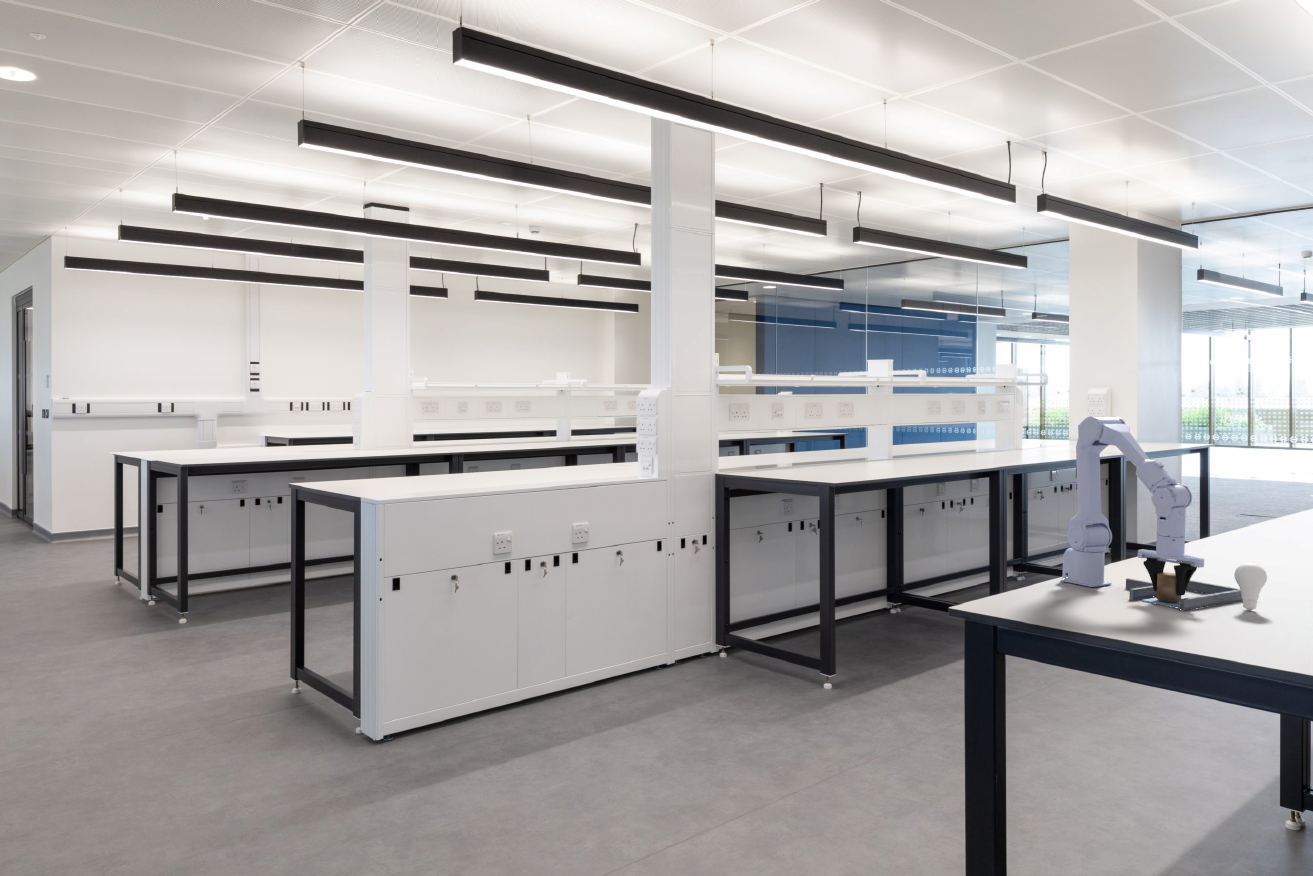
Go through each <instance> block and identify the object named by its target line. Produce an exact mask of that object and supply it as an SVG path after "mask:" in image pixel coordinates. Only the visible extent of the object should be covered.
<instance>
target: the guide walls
mask: <svg viewBox="0 0 1313 876" xmlns="http://www.w3.org/2000/svg"><path fill="white" fill-rule="evenodd" d="M1127 588H1128V589H1127ZM1125 589H1127V590H1129V593H1128V594H1129V597H1128V598H1129V600H1131V601H1137V599H1138V600H1144V599H1150V597H1151V598H1154V597H1153V596H1157V591H1154V589H1153V585H1152V581H1151V582H1150V581H1144V580H1139V579H1134V578H1130V577H1129V578H1125ZM1186 589H1187V590H1186V591H1188V590H1191V591H1190V592H1194V591H1197V592H1196V593H1199V592H1203V593H1202V594H1203V595H1197V596H1192V597H1185V598H1181V599H1180V607H1179V610H1180V609H1181V610H1180V611H1182V610H1186V611H1190V610H1189V609H1192V610H1196V608H1198V609H1202V607H1204V608H1208V607H1207V606H1209V607H1214V605H1215V606H1220V604H1221V605H1226V604H1230V603H1231V604H1232V603H1237V601H1238V602H1243V598H1242V595H1241V590H1240V588H1235V587H1230V586H1226V585H1219V584H1214V583H1213V584H1212V583H1208V582H1202V581H1198V580H1191V579H1190V581H1189V583H1188V585H1187V588H1186ZM1204 593H1208V594H1204ZM1143 598H1144V599H1143Z"/></svg>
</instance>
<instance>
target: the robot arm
mask: <svg viewBox="0 0 1313 876" xmlns="http://www.w3.org/2000/svg"><path fill="white" fill-rule="evenodd" d="M1077 429H1078V430H1077V434H1078V438H1077V442H1076V445H1075V446H1076V447H1075V454H1076V456H1075V457H1076V459H1075V460H1076V490H1077V491H1076V493H1077V495H1076V496H1077V513H1076V514H1075V515H1073V517H1072V518H1070V520H1069V527H1068V531H1067V533H1066V534H1067V535H1066V536H1067V542H1068V544H1069V546H1070V547H1068V548H1067V549H1066V550H1065V551H1064V552H1063V555H1062V579H1063V578H1065V579H1064V580H1061V579H1060V581H1061V582H1067V583H1070V584H1075V585H1079V586H1084V587H1091V588H1096V587H1102V586H1103V587H1104V586H1110V585H1112V582H1110V581H1105V556H1106V555H1105V553H1106V551H1107V550H1108V546H1110V545H1111V543H1112V542H1113V541H1112V540H1113V533H1112V530H1111V529H1110V524H1109V519H1108V518H1107V517H1106V516H1105V515H1104V514H1103V512H1102V494H1101V493H1102V490H1101V460H1100V458H1101V456H1100V454H1101V453H1102V452H1103V451H1104V450H1105V449H1106V448H1107V447H1109V446H1110V445H1111V446H1115V447H1116V448H1117V449H1118V450H1119V451H1120V452H1121V453H1122V454H1123V455H1124V456H1125V457H1126V458H1127V459H1128V461H1129V462H1130V463H1132V464H1133V465H1134V467H1136V471H1135V475H1136V476H1137V477H1138V479H1139V480H1140V481H1141V482H1142V484H1143V485H1144V486H1145V487H1146V489H1147V490H1148V491H1149V492H1150V493H1151V495H1152V496H1151V502H1152V505H1153V506H1154V507H1155V514H1156V543H1155V545H1156V546H1155V547H1156V548H1155V550H1152V549H1150V550H1149V549H1143V548H1142V549H1138V550H1137V558H1139V559H1145V560H1143V561H1142V562H1143V563H1142V564H1143V566H1144V567H1145V569H1146V571H1147V573H1148V575H1149V578H1150V581H1151V583H1152V585H1153V589H1154V591H1157V573H1160V572H1165V571H1164V569H1165V566H1166V563H1172V564H1177V565H1173V570H1174V573H1175V575H1176V594H1177V595H1179V596H1181V597H1182V596H1186V595H1185V594H1186V591H1187V590H1186V588H1187V585H1188V583H1189V581H1190V580H1191V578H1192V577H1193V575H1194V574H1195V573H1196V571H1197V569H1198V568H1204V567H1205V558H1202V557H1201V558H1200V557H1196V556H1191V555H1187V554H1185V543H1186V542H1185V541H1186V540H1185V539H1186V514H1187V513H1186V509H1187V508H1188V507H1189V506H1190V505H1191V503H1192V499H1193V496H1192V495H1193V494H1192V492H1191V490H1190V489H1189V486H1188V485H1185V484H1182V483H1179V482H1178V481H1177V480H1176V479H1175V478H1173V477H1172V476H1171V474H1170V473H1169V472H1168V471H1167V470H1166V469H1165V465H1164V464H1163V463H1162V462H1159V461H1158V460H1155V459H1152V460H1151V459H1150V458H1149V456H1148V455H1147V454H1146V452H1145V451H1144V449H1142V447H1141V446H1140V444H1139V443H1138V442H1137V440H1136V439H1135V437H1134V436H1133V435H1132V433H1131V432H1130V431H1131V426H1129V425H1128V424H1127V423H1126V422H1125V420H1124V418H1122V417H1119V416H1113V417H1112V416H1111V417H1110V416H1104V417H1101V416H1099V417H1098V416H1087V417H1085V418H1084V419H1083V420H1082V421H1081V422H1080V423H1079V424H1078V427H1077ZM1066 577H1068V578H1066Z"/></svg>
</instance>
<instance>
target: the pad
mask: <svg viewBox="0 0 1313 876" xmlns="http://www.w3.org/2000/svg"><path fill="white" fill-rule="evenodd" d="M1144 601H1146V602H1145V603H1149V602H1150V604H1153V603H1156V604H1155V605H1158V604H1161V605H1160V606H1163V605H1166V606H1165V607H1168V606H1171V607H1170V608H1173V607H1179V608H1180V602H1168V601H1162V600H1158V599H1157V597H1151V598H1144V599H1141V602H1144Z"/></svg>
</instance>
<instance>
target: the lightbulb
mask: <svg viewBox="0 0 1313 876" xmlns="http://www.w3.org/2000/svg"><path fill="white" fill-rule="evenodd" d="M1234 580H1235V582H1236V583H1237V585H1238V587H1239V589H1240V590H1241V595H1242V598H1243V601H1242V607H1243V608H1244V609H1246V611H1248V612H1249V611H1254V610H1255V609H1257V605H1258V604H1257V603H1258V600H1259V597H1260V593H1261V590H1262V589H1263V587H1264V586H1265V584H1266V583H1267V580H1268V575H1267V572H1266V570H1265V568H1263V566H1261V565H1260V564H1258V563H1254V562H1244V563H1241V564H1239V565H1238V566H1237V567H1236V569H1235V570H1234Z"/></svg>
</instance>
